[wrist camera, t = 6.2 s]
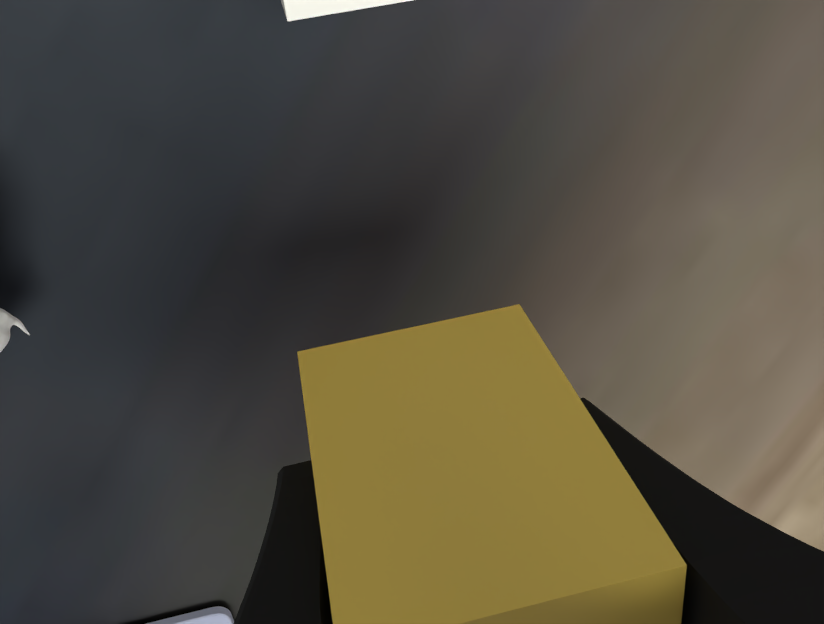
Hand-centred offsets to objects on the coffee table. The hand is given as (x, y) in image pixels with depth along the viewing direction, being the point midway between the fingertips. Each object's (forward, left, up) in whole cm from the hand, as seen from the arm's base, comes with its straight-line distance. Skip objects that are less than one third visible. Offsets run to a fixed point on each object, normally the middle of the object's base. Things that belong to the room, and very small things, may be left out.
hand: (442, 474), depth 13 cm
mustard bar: (0, 0, -2) cm, 2 cm away
